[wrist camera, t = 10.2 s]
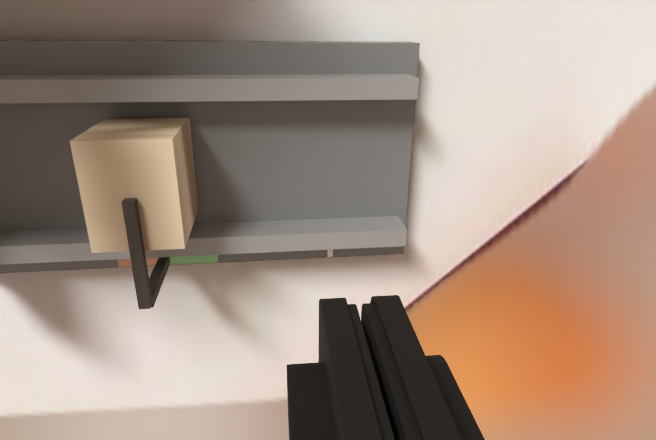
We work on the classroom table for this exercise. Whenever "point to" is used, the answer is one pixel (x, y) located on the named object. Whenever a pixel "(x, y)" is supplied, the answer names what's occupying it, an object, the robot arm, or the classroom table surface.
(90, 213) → the gauge slider
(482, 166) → the classroom table surface
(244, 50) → the gauge base
